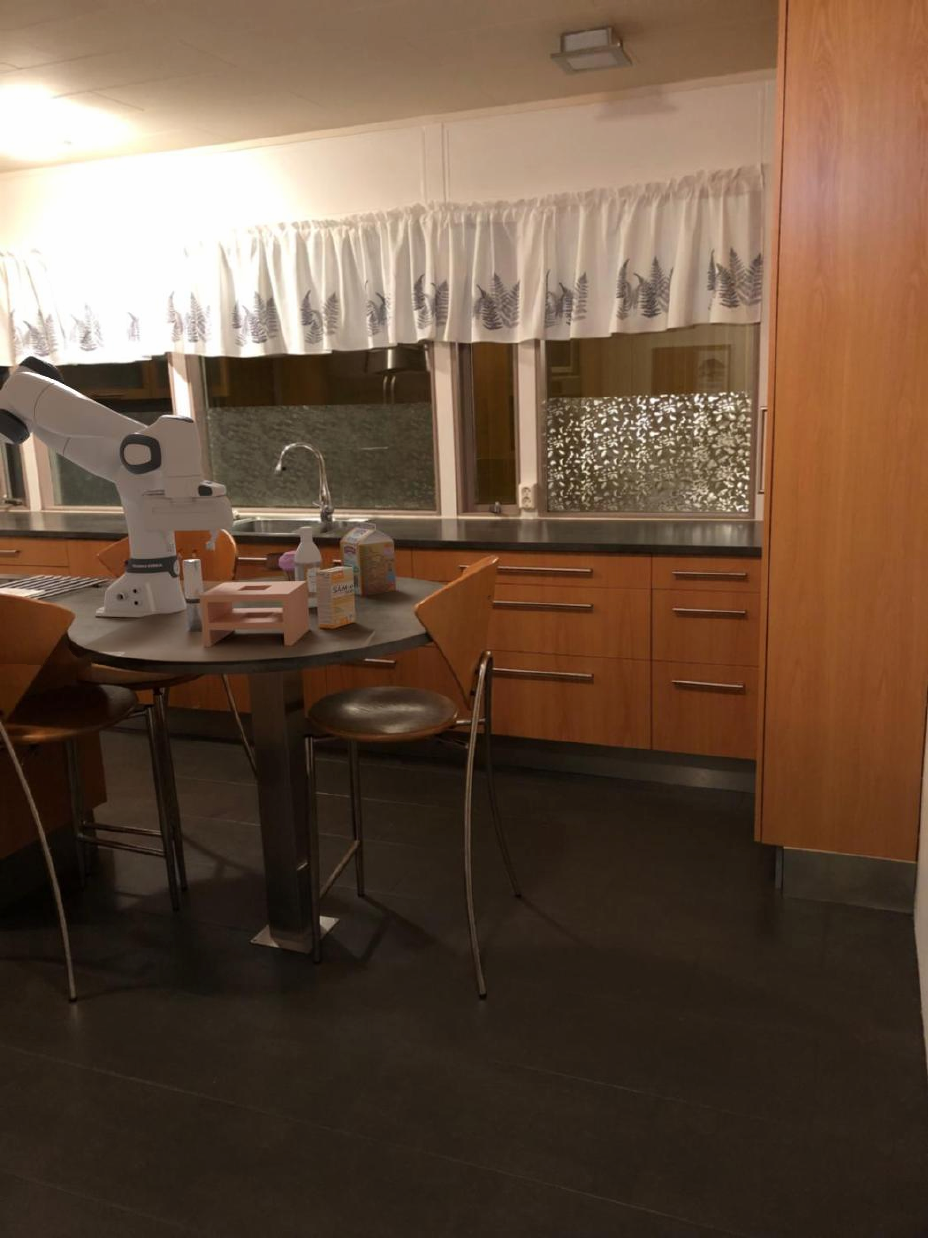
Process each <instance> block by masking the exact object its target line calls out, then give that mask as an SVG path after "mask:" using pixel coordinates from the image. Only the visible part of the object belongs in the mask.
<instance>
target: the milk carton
mask: <svg viewBox="0 0 928 1238" xmlns="http://www.w3.org/2000/svg"><path fill="white" fill-rule="evenodd" d="M339 547H340V564H341V566H340V567H353V580H354V595H356V596H360V597H364V596H371V595H375V594H381V593H382V594H383V593H387V592H392V591H397V584H396V583H397V582H396V581H397V580H396V579H397V577H396V562H395V560H396V559H395V557H396V556H395V541H394V539H393V538H391V537H390V536H389V535H387V534H386V533H384V532H382V531H380V530H378V529H377V525H376V523H371V522H363V521H356V522H355V527H354V528H352V529H350V530H349V532H347V533H346V534H345V535H343V537H342V538H341V539H340V541H339Z"/></svg>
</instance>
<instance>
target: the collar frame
mask: <svg viewBox="0 0 928 1238" xmlns="http://www.w3.org/2000/svg"><path fill="white" fill-rule="evenodd" d="M199 596H200V608H201V619H202V630H203V631H202V639H203V642H202V643H203V647H212V646H213V645H215V644H216V643H218V642H219V641H221V640H222V639H223V638H226V637H227V636H228V635H229V634H231V633H232V632H233V631H242V630H245V631H248V630H249V631H250V630H251V631H253V630H254V631H255V630H256V631H257V630H259V631H260V630H283V637H284V639H283V640H284V646H293V645H294V644H295V643H296V642H297V641H299V639H301V638H302V637H303V636H304V635H305V634H306V633H307V632H308V631H309V630H310V629H311V625H310V623H311V622H310V610H309V609H310V608H309V607H308V592H307V581H285V580H284V581H237V582H236V581H234V582H233V581H232V582H222V583H220V584H218V585H216V586H215V587H213V588H211V589H209V590H207V591H205V592H203V594H201V595H199ZM239 602H242V603H243V602H245V603H246V602H247V603H248V602H249V603H251V602H252V603H253V602H281V607H250V608H249V607H247V608H244V607H243V608H241V607H240V608H238V607H237V608H233V603H239Z"/></svg>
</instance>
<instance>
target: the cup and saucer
mask: <svg viewBox="0 0 928 1238" xmlns="http://www.w3.org/2000/svg"><path fill="white" fill-rule="evenodd" d="M284 553H286V551H285V552H280V551H278V552H271V553H270V552H269V553H266V555H265V560H266V566H262V567H260V568H259V571H260V572H264V573H265V572H266V573H279V572H283V569H282V568H281V567H280V566H279V559H280V557H281V556H283V555H284ZM266 569H267V570H266Z"/></svg>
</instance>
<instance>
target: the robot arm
mask: <svg viewBox="0 0 928 1238" xmlns="http://www.w3.org/2000/svg"><path fill="white" fill-rule="evenodd" d="M31 433H33V435H34V436H35V437H36V438H37V439H38V440H39V441H41V442H42V443H43V444H44V445H46V446H47V447H48V448H50V450H53V451H54V452H55V453H57V454H59V455H60V456H62V457H63V458H65V459H67V460H68V461H70V462H72V463H73V464H75V465H77V466H78V467H81V468H82V469H83V470H85V471H87V472H89V473H90V474H93V475H95V476H98V477H100V478H103V479H104V480H107V481H109V482H111V483H113V484H115V485H114V486H115V487H116V490H117V493H118V495H119V498H120V503H121V507H122V509H123V513H124V518H125V522H126V527H127V533H128V540H129V541H128V543H129V550H130V552H129V553H130V556H129V558H127V559H126V560H124V561H123V562H121V564H122V565H121V567H124V568H125V570H124V571H125V572H124V573H123V574H122V575H121V576H120V577H119V578H117V579H116V580H115V581H114V582H113V583H112V584H111V585H109V586H108V588H106V591H105V593H104V599H103V602H104V603H103V606H102V607H99V608H98V609H96V610H95V616H96V617H115V618H116V617H117V618H122V617H123V618H124V617H125V618H142V617H146V616H151V615H157V614H174V613H178V612H182V611H185V610H187V608H186V603H185V596H184V594H183V590H182V586H181V582H180V580H181V579H180V573H181V571H180V561H179V556H178V554H177V552H176V542H175V541H176V539H175V532H183V531H184V532H187V531H189V532H191V531H209V535H210V536H211V537H210V540H209V541H207V542H205V547H206V548H205V550H206V551H214V550H216V543H215V542H216V540H217V538H218V536H219V534H220V533H219V531H220V530H228V529H231V528H232V527H233V526H234V513H233V509H232V504H231V501H230V499H229V498H228V497H227V496H226V494H227V487H226V485H225V484H222V483H221V484H220V483H217V482H214V481H212V480H211V481H210V480H207V479H205V477H204V476H205V475H204V471H203V469H202V465H201V464H202V463H201V461H202V460H201V459H202V445H201V440H200V433H199V429H198V426H197V423H196V422H195V420H194V419H193V418H191V417H189V416H184V415H179V414H178V415H177V414H163V415H161V416H159V417H158V418H157V420H155V422H153V423H151V424H150V425H148V424H145V423H143V422H141V421H138V420H136V419H134V418H131V417H129V416H127V415H125V414H123V413H120V412H119V411H118V412H117V411H115V410H113V409H110V408H109V407H107V406H105V405H104V404H101V403H99V402H97V401H95V400H94V399H91V398H89V397H88V396H86V395H85V394H82V393H81V392H79V391H77V390H75V389H73V388H71V387H69V386H68V385H65V379H64V377H63V374H62V372H61V371H60V370H59V369H58V368H57V366H56V365H55V364H53V362H51V361H49V360H47V359H45V358H42V357H40V356H36V355H30V356H28V357H26V358H24V359H23V360H22V361H21V362H20V363H19V364H18V367H17V368H16V369H15V370H14V371H13V373H12V374H10V375H9V377H8V378H7V379H6V381H5V382H4V383H3V385H2V388H1V389H0V441H1V442H3V443H6V444H11V445H13V446H16V445H22V444H23V443H24V442H26V441H27V440H28V439H29V438H30V437H31Z"/></svg>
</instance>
